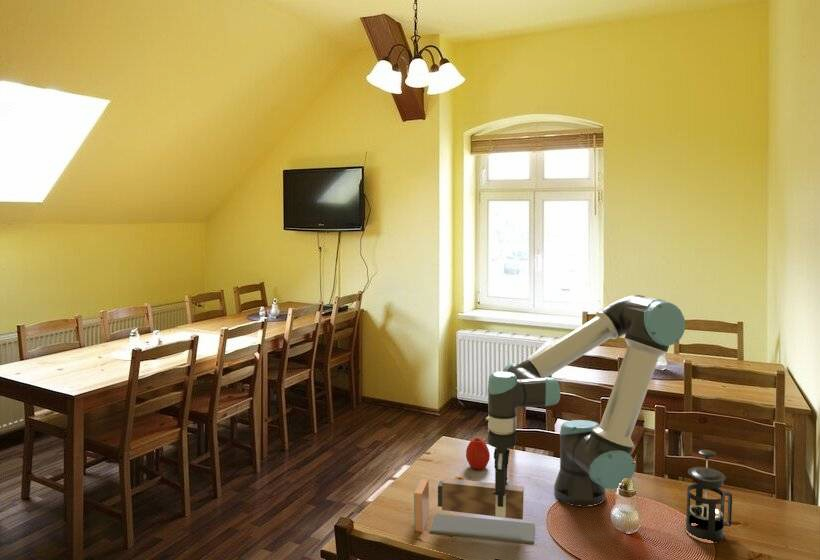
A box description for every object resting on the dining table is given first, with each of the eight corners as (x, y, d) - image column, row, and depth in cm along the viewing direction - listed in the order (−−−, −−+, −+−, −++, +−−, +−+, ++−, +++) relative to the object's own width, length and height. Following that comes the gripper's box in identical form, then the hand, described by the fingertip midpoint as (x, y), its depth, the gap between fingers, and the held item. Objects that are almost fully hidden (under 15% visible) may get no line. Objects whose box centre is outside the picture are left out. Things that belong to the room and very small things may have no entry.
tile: (429, 515, 170) (428, 479, 168) (422, 531, 161) (421, 493, 160) (421, 514, 170) (420, 478, 169) (414, 530, 161) (413, 492, 160)
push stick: (523, 514, 160) (523, 486, 159) (522, 519, 157) (523, 491, 156) (439, 504, 165) (440, 477, 164) (437, 509, 162) (437, 482, 161)
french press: (689, 543, 152) (692, 458, 150) (677, 524, 162) (679, 444, 159) (737, 544, 151) (740, 459, 148) (722, 525, 160) (725, 445, 158)
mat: (534, 525, 163) (534, 523, 162) (533, 543, 154) (533, 541, 154) (436, 515, 169) (435, 513, 169) (429, 532, 160) (429, 530, 160)
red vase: (463, 463, 204) (463, 433, 203) (486, 461, 205) (486, 432, 204) (468, 473, 196) (468, 442, 195) (492, 471, 197) (492, 441, 196)
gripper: (490, 418, 166) (490, 497, 168) (484, 439, 150) (484, 526, 153) (517, 420, 164) (516, 500, 166) (514, 442, 148) (513, 529, 151)
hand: (501, 512), depth 159 cm, fingers closed on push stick, 3 cm apart
